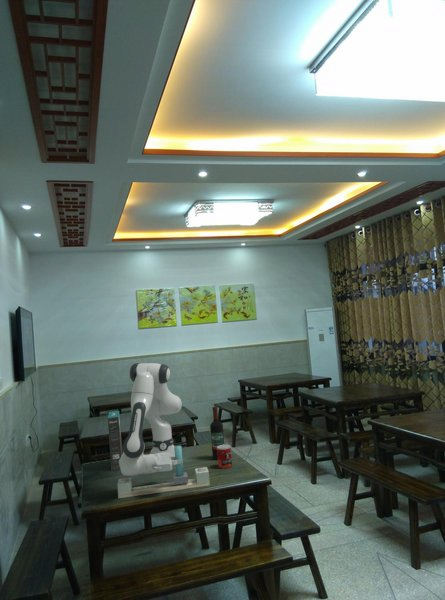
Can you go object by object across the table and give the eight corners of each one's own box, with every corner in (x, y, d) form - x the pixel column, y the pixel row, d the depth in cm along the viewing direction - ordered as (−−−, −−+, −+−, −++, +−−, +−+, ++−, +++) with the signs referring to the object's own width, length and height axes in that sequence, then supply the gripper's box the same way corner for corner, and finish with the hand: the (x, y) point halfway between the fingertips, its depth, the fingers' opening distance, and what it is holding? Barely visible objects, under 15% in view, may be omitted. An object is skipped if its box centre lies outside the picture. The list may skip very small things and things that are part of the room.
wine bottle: (227, 456, 268) (222, 405, 270) (223, 460, 261) (218, 408, 263) (215, 456, 271) (211, 405, 273) (210, 460, 264) (206, 408, 266)
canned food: (222, 469, 244) (220, 449, 245) (216, 466, 251) (214, 446, 252) (234, 466, 248) (233, 446, 248) (228, 463, 255) (226, 443, 255)
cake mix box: (122, 469, 261) (118, 416, 263) (111, 470, 260) (107, 418, 262) (122, 459, 283) (119, 410, 285) (112, 460, 282) (109, 411, 283)
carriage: (173, 480, 227) (170, 445, 228) (187, 478, 228) (184, 444, 229) (173, 484, 220) (171, 449, 221) (188, 482, 221) (185, 447, 222)
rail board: (119, 492, 223) (118, 477, 223) (207, 480, 230) (206, 465, 230) (118, 498, 215) (117, 483, 216) (209, 485, 222) (208, 470, 222)
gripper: (152, 462, 212) (181, 459, 215) (152, 451, 233) (178, 448, 235) (153, 476, 212) (182, 472, 214) (153, 464, 232) (179, 460, 234)
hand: (180, 459), depth 225 cm, fingers closed on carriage, 4 cm apart
